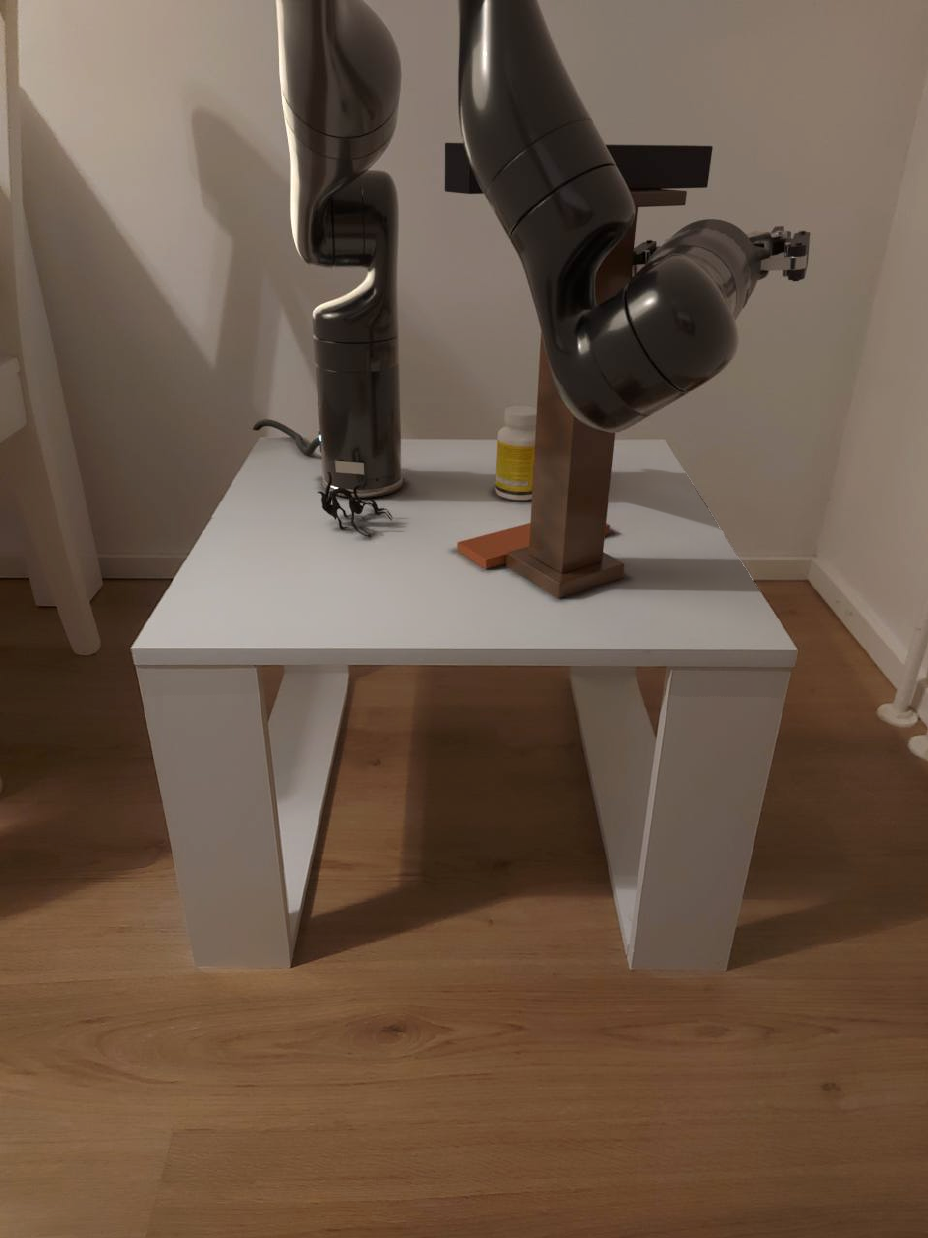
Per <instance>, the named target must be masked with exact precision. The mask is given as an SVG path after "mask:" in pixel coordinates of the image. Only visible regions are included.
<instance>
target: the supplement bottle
mask: <svg viewBox="0 0 928 1238" xmlns="http://www.w3.org/2000/svg"><path fill="white" fill-rule="evenodd" d="M536 414H537V407H533V406H527V405H514V406H509V407H507V408H505V409H504V424H505V426H503V427H502V428H500V429H499V430H498V431H497V432H498V433H497V438H496V440H497V441H496V460H495V479H494V481H495V483H494V491H495V493H496V494H497V496H499V497H500V498H503V499H506V500H512V501H530V500H532V486H533V468H534V450H535V432H536Z"/></svg>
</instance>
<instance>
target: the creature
mask: <svg viewBox="0 0 928 1238" xmlns="http://www.w3.org/2000/svg"><path fill="white" fill-rule="evenodd" d="M327 473H328V474H329V482H328V485H327V487H326V490H325V492H323V491H317V494H320V496H321V497H320V502H321V508H322V510H323V511H324V512H326V514H328V515H330V516H331V517H332V518H334V520H335V521H337V520H338V527H339V530H345V529H353V530H355V531H356V532H358V533H359V534H361V535H363V536H365V537H371V534H370V533H369V532H368V531H366V530H365V529H364V528H363V527H362V526H359V527H357V526H356V524H355V522H354V520H355V515H357V516H359V517H360V518H361V519H363V520H364V519H365V518H366V517H368V516H372V515H376V516H379V515H381V514H385V515H386V516H387V518H388V519H389V520H390V521H391V522H392V521H393V516H392V514H391V512H390V511H389V510H388V509H387V508H385V507H381V508H379V506H378V503H377V502H376V500H374V499H372V498H368V499H366V500H365V501H364V500H361V499H362V498H359V497H358V495H357V494H356V493H357V492H358V491H357V492H356V490H357V489H358V488H359V487H360V488H362V487H363V489H364V487H365V485H366V484H367V483H368V482H367V483H365V484H364V485H363V486H362V487H361V485H357V486H355V487H354V489H353V492H351V491H349V490H347V489H344V488H337V489H335V490H333V491H331V492H329V489H330V486H331V483H332V477H331V473H330V472H327ZM360 488H359V489H360ZM359 489H358V490H359ZM362 492H363V491H362ZM338 493H341V494H344V495H345V496H346V497H345V496H344V497H345V498H347V499H348V507H349V510H350V512H351V513H350V514H349V515H347V511H346V510H345V509H344V508H343V507H342V506H341V504H340V503H339V500H338V499H337V495H336V494H338ZM351 494H354V496H355V497H352V495H351ZM361 495H362V494H361ZM366 505H367V506H370V507H372V508H373V509H374V513H370V514H367V515H365V516H360V515H361V514H362V513H363V511H364V508H365V506H366ZM338 510H340V511H342V515H343V517H344V518H347V519H348V518H349V517H351V518H350V525H351V526H352V527H353V528H352V527H349V526H343V522H342V520H341V519H340V516H339V514H338ZM387 513H388V514H387ZM359 529H360V530H362V531H364V532H365V533H366V534H365V533H363V532H361V531H360V530H359Z"/></svg>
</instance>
